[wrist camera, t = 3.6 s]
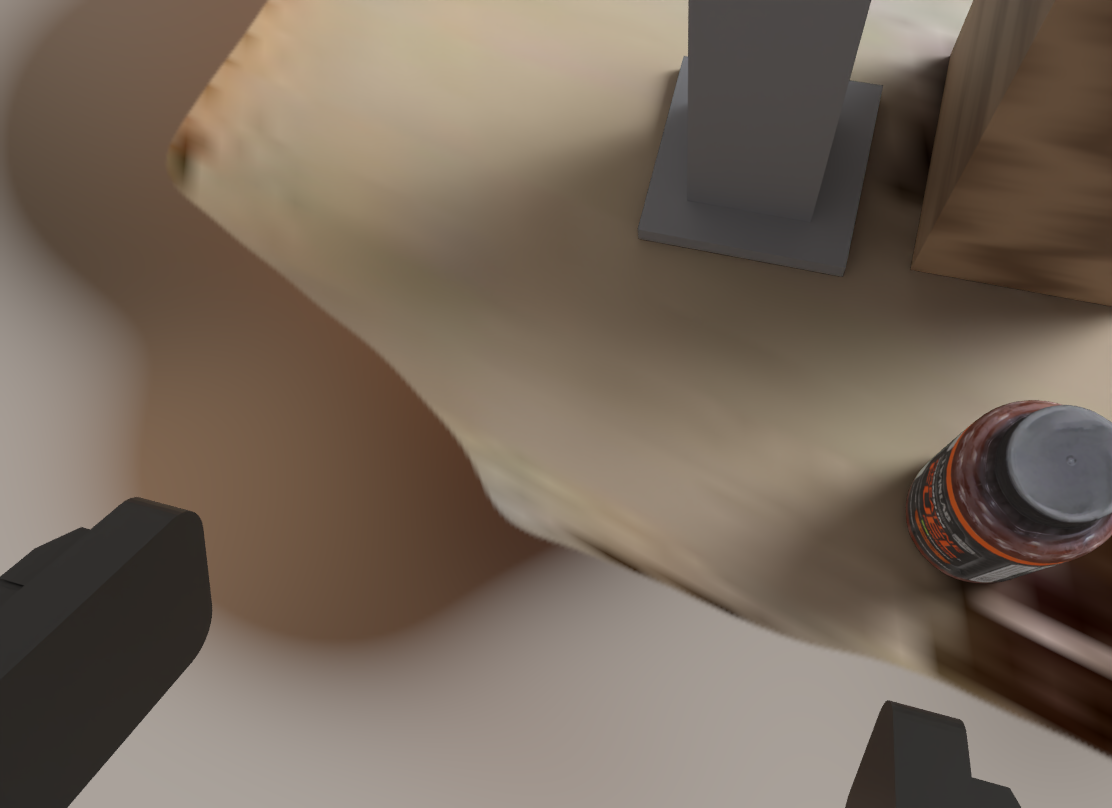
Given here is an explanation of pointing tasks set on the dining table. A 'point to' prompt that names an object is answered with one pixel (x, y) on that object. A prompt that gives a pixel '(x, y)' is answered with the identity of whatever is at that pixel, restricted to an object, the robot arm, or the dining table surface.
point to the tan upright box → (1025, 152)
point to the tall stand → (766, 134)
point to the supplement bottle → (1015, 493)
